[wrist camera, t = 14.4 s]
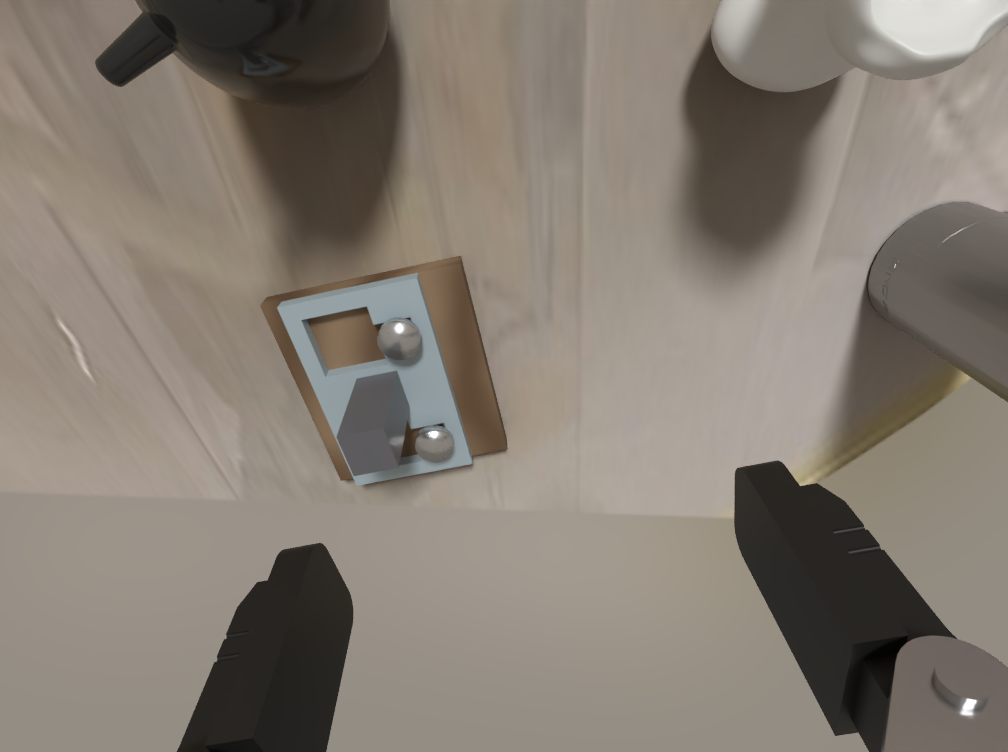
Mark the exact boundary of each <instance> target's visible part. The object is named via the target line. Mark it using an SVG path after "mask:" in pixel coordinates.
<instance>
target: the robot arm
mask: <svg viewBox="0 0 1008 752" xmlns="http://www.w3.org/2000/svg"><path fill="white" fill-rule="evenodd" d="M868 292H869V297H870V301H871V303H872V305H873V307H874V308H875V310H876V311H877V312H878V313H879V314H880V315H881V316H882V317H883V318H885V319H886V320H888V321H889V322H891V323H892V324H894V325H895V326H897V327H898V328H899V329H901V330H902V331H904V332H905V333H907V334H908V335H910V336H911V337H913V338H914V339H916V340H917V341H918V342H920V343H921V344H923V345H924V346H925V347H927V348H928V349H930V350H931V351H933V352H934V353H936V354H937V355H939V356H940V357H942V358H943V359H945V360H946V361H948V362H949V363H951V364H952V365H954V366H955V367H957V368H958V369H959V370H961V371H962V372H964V373H965V374H967V375H968V376H970V377H971V378H973V379H974V380H976V381H977V382H979V383H980V384H982V385H983V386H985V387H986V388H988V389H989V390H990V391H992V392H994V393H995V394H997V395H998V396H999V397H1001V398H1002V399H1004V400H1005V401H1007V402H1008V212H999V211H996V210H993V209H989V208H986V207H983V206H980V205H977V204H973V203H969V202H952V203H947V204H942V205H938V206H936V207H933V208H930V209H928V210H925V211H923V212H922V213H920V214H918V215H916V216H915V217H913V218H911V219H910V220H909V221H907V222H906V223H905V224H904V225H902V226H901V227H900V228H899V229H897V230H896V232H895V233H894V234H893V235H892V236H891V237H890V238H889V239H888V240H887V241H886V243H885V244H884V246H883V247H882V248H881V250H880V251H879V253H878V254H877V257H876V259H875V261H874V263H873V265H872V268H871V272H870V276H869V282H868ZM734 523H735V533H736V538H737V542H738V545H739V549H740V551H741V554H742V556H743V558H744V560H745V562H746V564H747V566H748V568H749V570H750V572H751V574H752V576H753V578H754V580H755V581H756V583H757V586H758V587H759V589H760V591H761V593H762V595H763V597H764V599H765V601H766V603H767V605H768V607H769V609H770V611H771V612H772V614H773V616H774V618H775V620H776V622H777V624H778V626H779V628H780V630H781V632H782V634H783V636H784V637H785V640H786V641H787V643H788V645H789V647H790V649H791V651H792V653H793V655H794V657H795V659H796V661H797V663H798V665H799V667H800V668H801V670H802V672H803V674H804V676H805V678H806V680H807V682H808V684H809V686H810V688H811V690H812V691H813V693H814V696H815V697H816V699H817V701H818V703H819V705H820V707H821V709H822V711H823V713H824V715H825V717H826V719H827V721H828V723H829V724H830V726H831V728H832V730H833V732H834V734H835V736H838V735H844V734H851V733H858V732H859V734H860V736H861V738H862V739H863V741H864V743H865V745H866V747H867V748H868V750H869V752H1008V668H1007V667H1006V666H1005V665H1004V664H1003V663H1002V662H1000V661H999V660H998V659H997V658H995V657H994V656H992V655H991V654H989V653H987V652H986V651H984V650H982V649H981V648H979V647H977V646H975V645H972V644H970V643H967V642H965V641H962V640H958V639H957V638H956V637H955V636H954V635H952V633H951V632H950V631H949V630H948V629H947V628H946V627H945V626H944V625H943V623H942V622H941V621H940V619H939V618H938V617H937V616H936V615H935V613H934V612H933V611H932V610H931V608H930V607H929V606H928V605H927V603H926V602H925V601H924V600H923V598H922V597H921V596H920V595H919V593H918V592H917V591H916V589H915V588H914V587H913V586H912V584H911V583H910V582H909V581H908V580H907V579H906V577H905V576H904V575H903V573H902V572H901V571H900V570H899V568H898V567H897V566H896V565H895V563H894V562H893V561H892V560H891V558H890V557H889V556H888V555H887V553H886V552H885V551H884V550H881V549H880V545H879V543H878V542H877V541H876V540H875V538H874V537H873V536H872V535H871V533H870V532H869V531H868V530H865V528H864V525H863V523H862V522H861V521H860V520H859V518H858V517H857V516H856V515H855V513H854V512H853V511H852V510H851V508H850V507H849V506H848V505H847V503H846V502H845V501H843V500H842V499H840V498H839V497H837V496H836V495H834V494H833V493H831V492H830V491H828V490H827V489H825V488H823V487H822V486H820V485H819V484H817V483H816V484H810V485H805V486H799V484H798V483H797V481H796V480H795V479H794V477H793V476H792V475H791V473H790V472H789V470H788V469H787V468H786V466H785V465H784V464H783V463H782V462H780V461H773V462H767V463H762V464H756V465H751V466H745V467H740V468H737V469H736V472H735V519H734ZM352 624H353V604H352V599H351V595H350V592H349V590H348V588H347V587H346V584H345V582H344V581H343V579H342V577H341V575H340V573H339V571H338V569H337V567H336V565H335V563H334V561H333V559H332V558H331V556H330V554H329V552H328V550H327V548H326V547H325V546H324V545H323V544H321V543H318V544H312V545H306V546H301V547H295V548H290V549H284V550H282V551H281V552H280V553H279V554H278V556H277V558H276V560H275V563H274V565H273V568H272V570H271V574H270V576H269V578H268V580H267V581H262V582H257V583H256V585H255V586H254V587H253V588H252V590H251V591H250V592H249V594H248V595H247V596H246V597H245V599H244V600H243V601H242V602H241V603H240V605H239V606H238V607H237V609H236V612H235V614H234V617H233V619H232V622H231V624H230V626H229V629H228V631H227V633H226V635H227V639H225V640H224V641H223V643H222V646H221V648H220V650H219V653H218V655H217V658H218V660H217V662H215V663H214V665H213V667H212V670H211V672H210V674H209V677H208V679H207V681H206V684H205V686H204V689H203V691H202V693H201V696H200V698H199V701H198V703H197V706H196V708H195V710H194V713H193V715H192V718H191V720H190V723H189V725H188V727H187V729H186V732H185V735H184V737H183V739H182V742H181V744H180V746H179V748H178V750H177V752H326V750H327V745H328V740H329V735H330V730H331V725H332V721H333V716H334V711H335V706H336V701H337V696H338V692H339V687H340V682H341V678H342V672H343V668H344V663H345V658H346V653H347V649H348V643H349V639H350V634H351V629H352Z"/></svg>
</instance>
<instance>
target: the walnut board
mask: <svg viewBox="0 0 1008 752" xmlns="http://www.w3.org/2000/svg"><path fill="white" fill-rule="evenodd" d="M414 273H418V274H419V277H420V281H421V284H422V287H423V291H424V294H425V297H426V301H427V304H428V308H429V311H430V314H431V318H432V321H433V324H434V328H435V331H436V334H437V338H438V341H439V345H440V348H441V351H442V355H443V358H444V361H445V365H446V368H447V372H448V375H449V378H450V382H451V385H452V388H453V392H454V395H455V398H456V402H457V405H458V409H459V412H460V415H461V419H462V422H463V425H464V429H465V432H466V436H467V439H468V442H469V446H470V449H471V452H472V456H474V455H479V454H484V453H490V452H495V451H500V450H505V449H507V438H506V434H505V430H504V426H503V422H502V418H501V414H500V410H499V406H498V402H497V398H496V394H495V390H494V386H493V382H492V378H491V374H490V370H489V366H488V362H487V358H486V354H485V350H484V346H483V342H482V338H481V334H480V330H479V326H478V322H477V318H476V314H475V311H474V307H473V303H472V299H471V295H470V291H469V287H468V283H467V279H466V275H465V271H464V267H463V263H462V259H461V256H458V257H453V258H449V259H444V260H439V261H435V262H430V263H425V264H421V265H416V266H411V267H406V268H402V269H397V270H392V271H388V272H383V273H378V274H374V275H369V276H364V277H360V278H355V279H350V280H346V281H341V282H336V283H331V284H327V285H322V286H317V287H313V288H308V289H303V290H299V291H294V292H289V293H285V294H280V295H275V296H270V297H267V298H266V299H265V300H264V302H263V303H262V304H261V305H260V306H261V309H262V311H263V313H264V315H265V317H266V319H267V322H268V324H269V326H270V328H271V330H272V332H273V334H274V337H275V339H276V341H277V343H278V345H279V347H280V350H281V352H282V354H283V356H284V358H285V360H286V363H287V365H288V367H289V369H290V371H291V373H292V376H293V378H294V380H295V382H296V384H297V386H298V389H299V391H300V393H301V395H302V397H303V399H304V401H305V404H306V406H307V408H308V410H309V412H310V414H311V417H312V419H313V421H314V423H315V425H316V427H317V430H318V432H319V434H320V436H321V438H322V440H323V443H324V445H325V447H326V449H327V451H328V453H329V456H330V458H331V460H332V462H333V464H334V466H335V468H336V471H337V473H338V475H339V477H340V479H341V481H342V480H347V479H353V477H352V474H351V472H350V470H349V468H348V465H347V463H346V461H345V459H344V456H343V454H342V452H341V450H340V448H339V445H338V443H337V441H336V439H335V436H334V434H333V432H332V430H331V427H330V425H329V423H328V421H327V418H326V416H325V414H324V412H323V410H322V407H321V405H320V403H319V401H318V398H317V396H316V394H315V392H314V389H313V387H312V385H311V383H310V380H309V378H308V376H307V374H306V371H305V369H304V367H303V365H302V363H301V360H300V358H299V356H298V354H297V351H296V349H295V347H294V345H293V342H292V340H291V338H290V336H289V333H288V331H287V329H286V327H285V325H284V322H283V320H282V318H281V316H280V313H279V311H278V309H277V307H278V306H279V304H280V303H281V302H283V301H287V300H292V299H297V298H301V297H306V296H311V295H316V294H320V293H325V292H330V291H334V290H339V289H344V288H348V287H353V286H358V285H363V284H367V283H372V282H377V281H381V280H386V279H391V278H396V277H400V276H405V275H410V274H414ZM307 320H308V323H309V325H310V327H311V330H312V332H313V334H314V337H315V339H316V341H317V344H318V346H319V349H320V351H321V353H322V356H323V358H324V360H325V363H326V365H327V368H328V370H332V369H337V368H342V367H347V366H352V365H357V364H362V363H367V362H372V361H377V360H382V359H385V356H384V355H386V356H387V357H389V358H391V359H394V360H406V359H409V358H411V357H412V356H414V355H415V354H416V353H417V351H418V349H419V346H420V341H421V334H420V331H419V329H418V327H417V326H416V325H415V324H414V323H413V322H412V321H411V318H410V317H409V318H400V317H396V318H391V319H389V320H387V321H386V322H384V323H380V324H375V325H373V322H372V319H371V317H370V314H369V311H368V308H367V306H366V307H361V308H357V309H352V310H347V311H342V312H338V313H333V314H328V315H323V316H318V317H314V318H309V319H307ZM452 450H453V436H452V434H451V433H450V431H449V430H447V429H446V428H445V425H444V423H440V424H435V425H430V426H425V427H420V428H415V429H410V426H409V423H408V420H407V425H406V430H405V436H404V442H403V448H402V453H401V457H407V456H412V455H417V454H418V455H419V456H420V457H421V458H423V459H425V460H427V461H432V462H437V461H442V460H444V459H446V458H448V457H449V456H450V454H451V453H452Z"/></svg>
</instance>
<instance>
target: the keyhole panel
mask: <svg viewBox="0 0 1008 752" xmlns="http://www.w3.org/2000/svg"><path fill="white" fill-rule="evenodd" d="M366 306H367V308H368V311H369V314H370V317H371V319H372V322H373V325H375V324H380V323H384V322H386V321H387V320H389V319H391V318H396V317H400V318H409V317H410V318H411V321H412V322H413V323H414V324H415V325H416V326H417V327H418V329H419V331H420V334H421V341H420V346H419V349H418V351H417V353H416V354H415V355H414V356H412V357H411V358H409V359H406V360H394V359H391V358H389V357H387V356H386V355H384V356H385V359H382V360H377V361H372V362H367V363H362V364H357V365H352V366H347V367H342V368H337V369H332V370H328V368H327V365H326V363H325V360H324V358H323V356H322V353H321V351H320V349H319V346H318V344H317V341H316V339H315V337H314V334H313V332H312V330H311V327H310V325H309V323H308V320H307V319H309V318H314V317H318V316H323V315H328V314H333V313H338V312H342V311H347V310H352V309H357V308H361V307H366ZM277 309H278V311H279V313H280V316H281V318H282V320H283V322H284V325H285V327H286V329H287V331H288V333H289V336H290V338H291V340H292V342H293V345H294V347H295V349H296V351H297V354H298V356H299V358H300V360H301V363H302V365H303V367H304V369H305V371H306V374H307V376H308V378H309V380H310V383H311V385H312V387H313V389H314V392H315V394H316V396H317V398H318V401H319V403H320V405H321V407H322V410H323V412H324V414H325V416H326V418H327V421H328V423H329V425H330V427H331V430H332V432H333V434H334V436H335V439H336V441H337V443H338V445H339V448H340V450H341V452H342V454H343V456H344V459H345V461H346V463H347V465H348V468H349V470H350V472H351V474H352V477H353V479H354V481H355V483H356V486H359V485H364V484H369V483H374V482H380V481H385V480H390V479H396V478H401V477H406V476H411V475H417V474H422V473H427V472H433V471H438V470H443V469H448V468H454V467H459V466H464V465H470V464H473V456H472V452H471V449H470V446H469V442H468V439H467V436H466V432H465V429H464V425H463V422H462V419H461V415H460V412H459V409H458V405H457V402H456V398H455V395H454V392H453V388H452V385H451V382H450V378H449V375H448V372H447V368H446V365H445V361H444V358H443V355H442V351H441V348H440V345H439V341H438V338H437V334H436V331H435V328H434V324H433V321H432V318H431V314H430V311H429V308H428V304H427V301H426V297H425V294H424V291H423V287H422V284H421V281H420V277H419V274H418V273H414V274H410V275H405V276H400V277H396V278H391V279H386V280H381V281H377V282H372V283H367V284H363V285H358V286H353V287H348V288H344V289H339V290H334V291H330V292H325V293H320V294H316V295H311V296H306V297H301V298H297V299H292V300H287V301H283V302H281V303H280V304H279V306H278V307H277ZM407 420H408V423H409V426H410V429H415V428H420V427H425V426H430V425H435V424H440V423H444V425H445V428H446V429H447V430H449V431H450V433H451V434H452V436H453V450H452V453H451V454H450V456H449V457H448V458H446V459H444V460H442V461H437V462H432V461H427V460H425V459H423V458H421V457H420V456H419V455H418V454H417V455H412V456H407V457H401V453H402V448H403V442H404V436H405V430H406V425H407Z"/></svg>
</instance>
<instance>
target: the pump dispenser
mask: <svg viewBox="0 0 1008 752" xmlns="http://www.w3.org/2000/svg"><path fill="white" fill-rule="evenodd" d="M135 1H136V3H137V4H138V6H139V8H140V9H141V11H142V13H141V15H140V16H139V17H138V18H137V19H136V20H135V21H134V22H133V23H132V24H131V25H130V26H129V27H128V28H127V29H126V30H125V31H124V32H123V33H122V34H121V35H120V36H119V37H118V38H117V39H116V40H115V41H114V42H113V43H112V44H111V45H110V46H109V47H108V48H107V49H106V50H105V51H104V52H103V53H102V54H101V55H100V56H99V57H98V58H97V59H96V61H95V64H96V67H97V69H98V71H99V72H100V74H101V75H102V76H103V77H104V78H105V79H106V80H107V81H109V82H110V83H111V84H113V85H115V86H118V87H122V86H125V85H126V84H127V83H129V82H130V81H132V80H133V79H135V78H136V77H138V76H139V75H141V74H142V73H144V72H145V71H147V70H148V69H150V68H151V67H153V66H154V65H155V64H157V63H158V62H160V61H161V60H163V59H164V58H166V57H167V56H169V55H170V54H172V53H173V54H174V55H175V56H176V57H177V58H178V59H179V60H180V61H181V62H183V63H184V64H185V65H186V66H187V67H188V68H189V69H191V70H192V71H193V72H195V73H196V74H197V75H199V76H200V77H202V78H203V79H205V80H206V81H208V82H209V83H211V84H212V85H214V86H216V87H218V88H219V89H221V90H223V91H225V92H227V93H229V94H231V95H234V96H236V97H239V98H241V99H244V100H247V101H250V102H253V103H257V104H261V105H265V106H270V107H276V108H283V109H310V108H316V107H321V106H325V105H328V104H331V103H333V102H336V101H338V100H340V99H342V98H344V97H345V96H347V95H348V94H350V93H351V92H353V91H354V90H355V89H356V88H357V87H359V86H360V85H361V84H362V83H363V82H364V80H365V79H366V78H367V77H368V76H369V74H370V73H371V71H372V70H373V68H374V67H375V65H376V63H377V61H378V59H379V57H380V55H381V52H382V50H383V47H384V44H385V40H386V36H387V31H388V25H389V14H390V1H389V0H135Z"/></svg>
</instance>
